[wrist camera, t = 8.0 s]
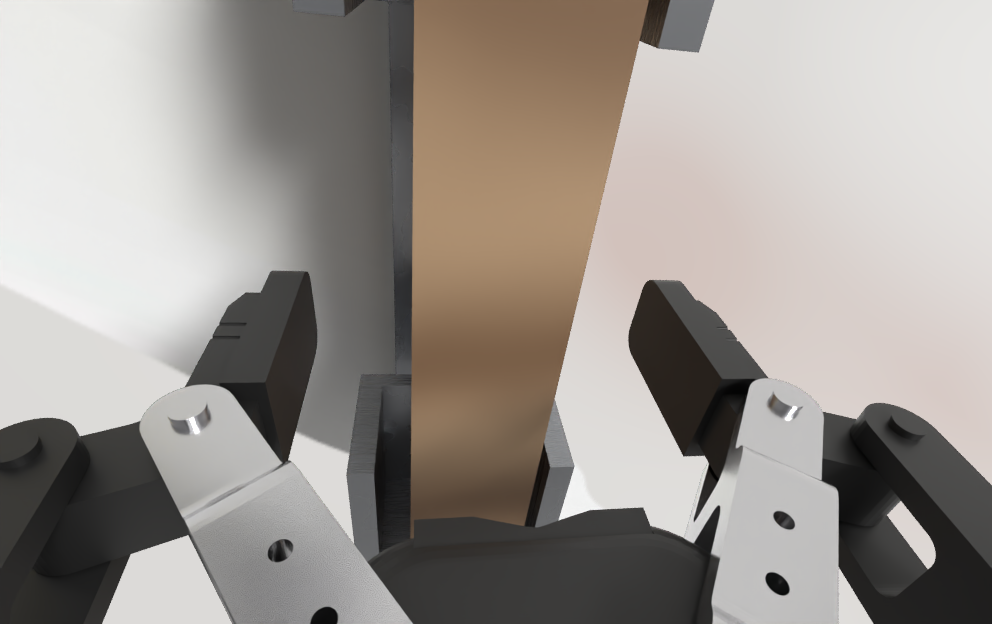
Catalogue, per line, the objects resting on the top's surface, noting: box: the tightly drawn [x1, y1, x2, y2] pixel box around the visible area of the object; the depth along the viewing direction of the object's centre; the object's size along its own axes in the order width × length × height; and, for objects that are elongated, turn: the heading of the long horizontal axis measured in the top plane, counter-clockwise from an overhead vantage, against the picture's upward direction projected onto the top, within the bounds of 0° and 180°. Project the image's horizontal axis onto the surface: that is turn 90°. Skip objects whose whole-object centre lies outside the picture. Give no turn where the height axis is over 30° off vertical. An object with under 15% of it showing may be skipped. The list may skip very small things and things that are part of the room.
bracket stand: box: [292, 0, 714, 561], centre depth 16 cm, size 25×7×9 cm, turn 174°
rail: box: [410, 0, 649, 539], centre depth 13 cm, size 20×4×5 cm, turn 174°
